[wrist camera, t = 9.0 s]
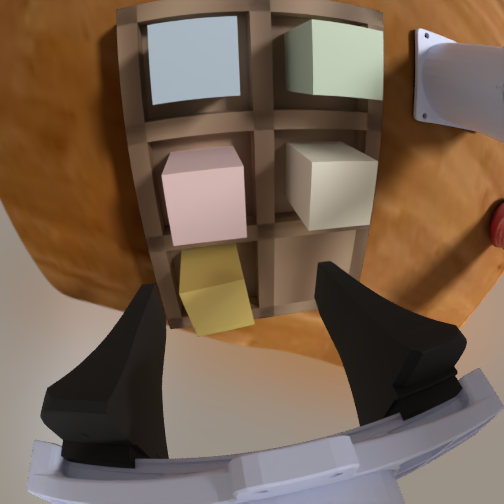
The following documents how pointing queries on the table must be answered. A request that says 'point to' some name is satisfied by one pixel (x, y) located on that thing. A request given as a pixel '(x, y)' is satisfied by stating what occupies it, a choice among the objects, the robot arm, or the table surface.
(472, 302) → the table surface
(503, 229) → the liquor
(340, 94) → the sage block
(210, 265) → the mustard block
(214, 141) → the block tray
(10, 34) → the table surface
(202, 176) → the rose block
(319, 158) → the cream block
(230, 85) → the blue block
